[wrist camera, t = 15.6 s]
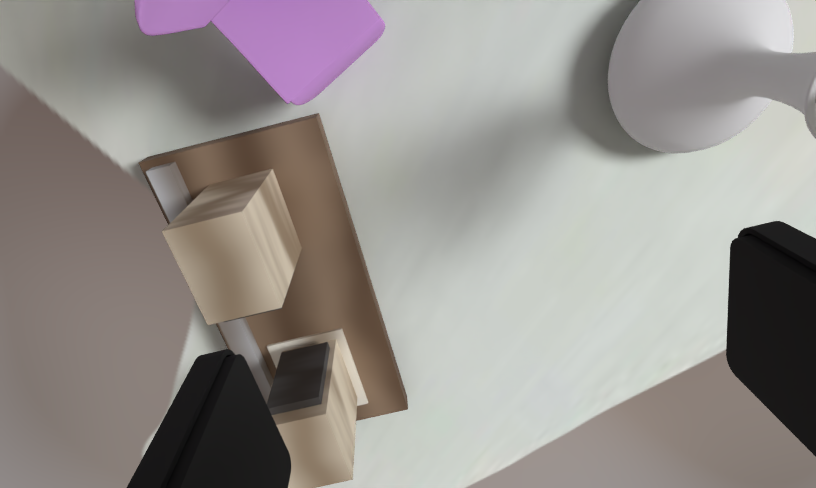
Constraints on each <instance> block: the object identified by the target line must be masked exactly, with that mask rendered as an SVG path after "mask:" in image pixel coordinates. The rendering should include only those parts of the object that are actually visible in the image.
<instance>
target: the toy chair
mask: <svg viewBox="0 0 816 488" xmlns="http://www.w3.org/2000/svg"><path fill="white" fill-rule="evenodd" d="M135 15H136V19H137V22H138V25H139V28H140V30H141V31H142V32H143V33H144V34H146V35H151V36H155V35H163V34H170V33H175V32H181V31H186V30H191V29H196V28H203V27H205V26H206V25H207V24H208V23H209V22H210V21H211V22H212V23H213V24H214V25H215V26H216V27H217V28H218V29H219V30H220V31H221V32H222V33H223V34H224V35H225V36H226V38H227V39H228V40H229V41H230V42H231V43H232V44H233V45H234V46H235V47H236V48H237V49H238V50H239V51H240V53H241V54H242V55H243V56H244V57H245V58H246V59H247V60H248V61H249V62H250V63H251V64H252V66H253V67H254V68H255V69H256V70H257V71H258V72H259V73H260V75H261V76H262V77H263V78H264V79H265V80H266V81H267V82H268V83H269V85H270V86H271V87H272V88H273V89H274V90H275V91H276V92H277V93H278V94H279V95H280V96H281V98H282V99H283V100H284V101H285V102H286V103H287V104H288V103H289V102H292V103H293V104H295V105H302V104H305V103H307V102H309V101H310V100H312V99H313V98H315V97H316V96H317V95H318V94H320V93H321V92H322V91H323V90H324V89H325V88H326V87H327V86H328V85H329V84H330V83H332V82H333V81H334V80H335V79H336V78H337V77H338V76H339V75H340V74H341V73H342V72H343V71H345V70H346V69H347V68H348V67H349V66H350V65H351V64H352V63H353V62H354V61H355V60H357V59H358V58H359V57H360V56H361V55H362V54H363V53H364V52H365V51H366V50H367V49H368V48H370V47H371V46H372V45H373V44H374V43H375V42H376V41H377V40H378V39H379V38H380V37H381V35H382V33H383V31H384V29H385V23H384V21H383V20H382V19H381V17H380V16H379V15H378V13H377V12H376V11H375V10H374V8H373V7H372V6H371V4H370V3H369V2H368V1H367V0H135Z"/></svg>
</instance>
